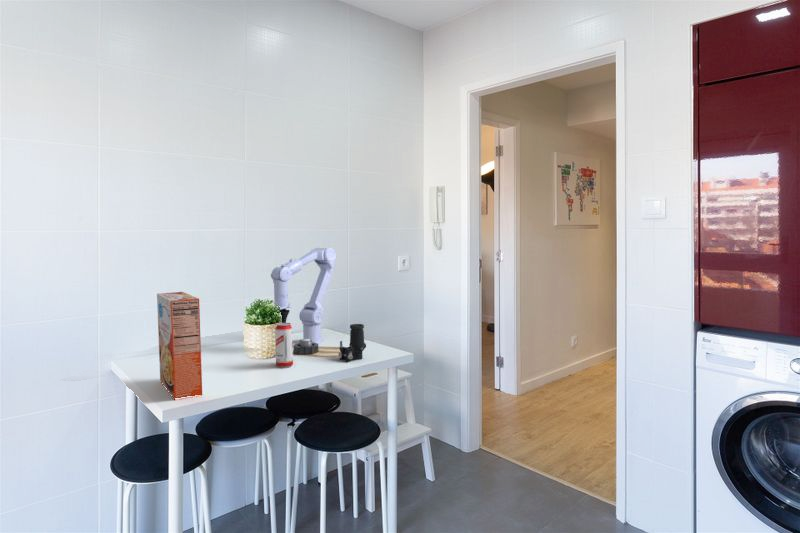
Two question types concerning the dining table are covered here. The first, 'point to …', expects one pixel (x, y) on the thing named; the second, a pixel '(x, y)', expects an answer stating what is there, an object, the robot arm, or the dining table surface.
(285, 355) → the beer can
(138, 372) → the dining table surface
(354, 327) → the scope
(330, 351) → the tan wooden board
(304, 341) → the grey domed cylinder
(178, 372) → the cereal box
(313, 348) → the segmented dark ring
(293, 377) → the dining table surface
